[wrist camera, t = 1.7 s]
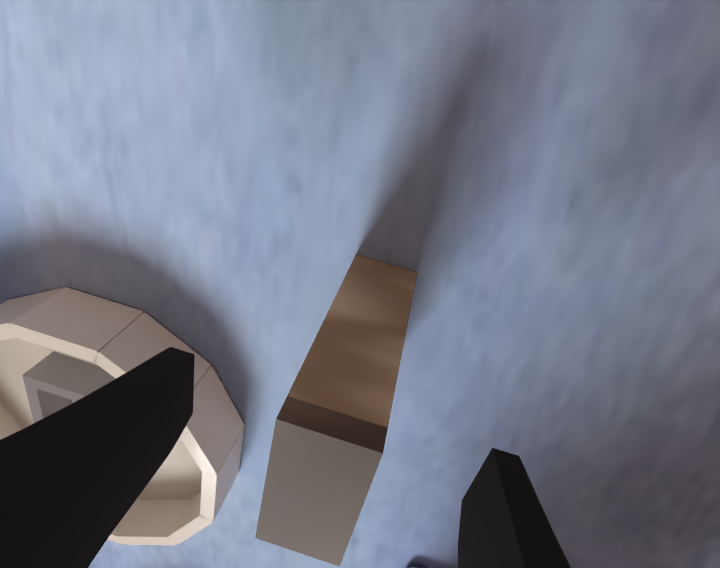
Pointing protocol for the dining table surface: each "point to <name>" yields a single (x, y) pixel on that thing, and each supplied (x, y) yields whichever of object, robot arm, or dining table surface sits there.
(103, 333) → the beige faceted bowl
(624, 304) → the dining table surface
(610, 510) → the dining table surface
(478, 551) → the robot arm
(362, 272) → the tan cardboard box
